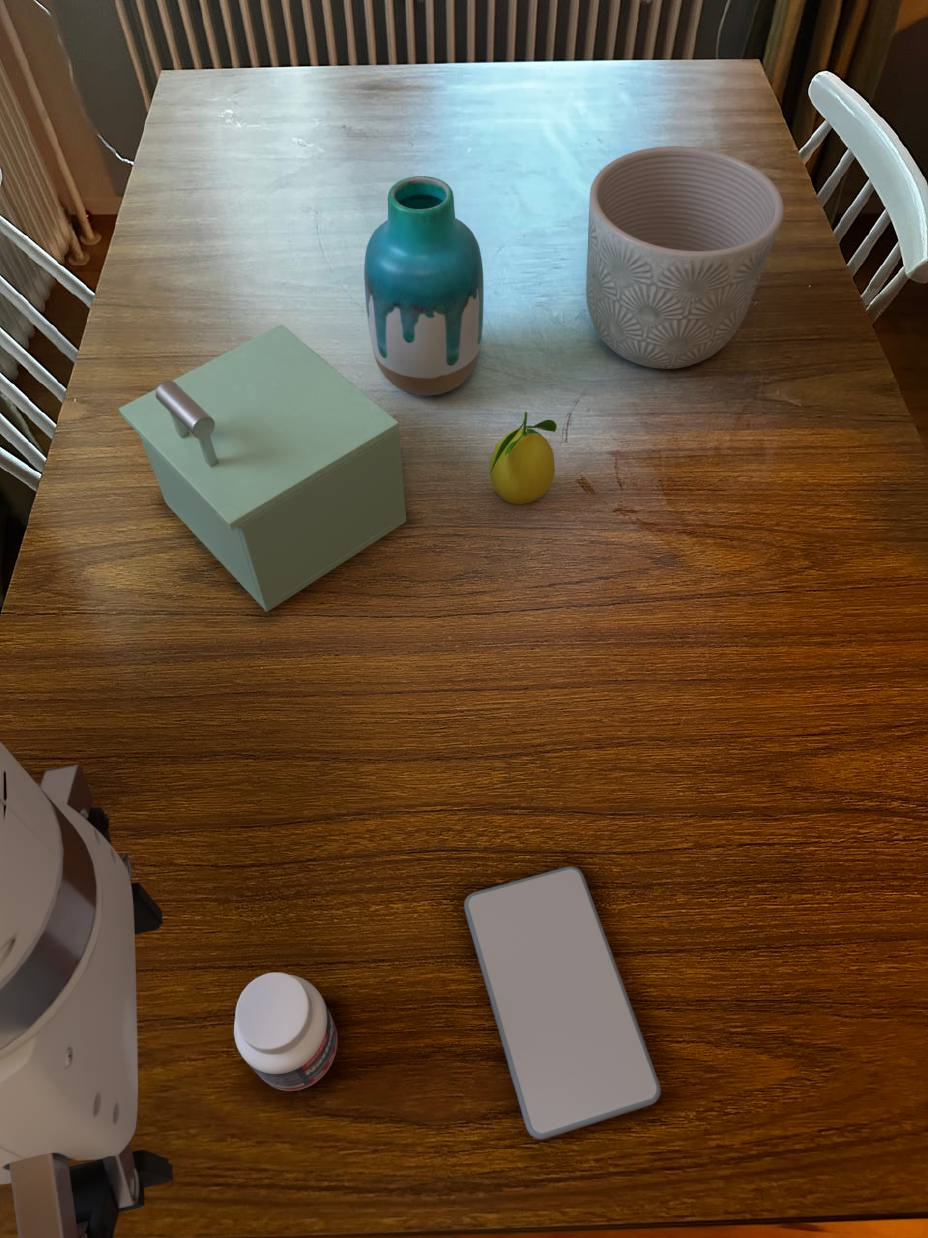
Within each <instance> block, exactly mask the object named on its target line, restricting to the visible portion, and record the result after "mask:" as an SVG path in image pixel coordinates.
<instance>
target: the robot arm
mask: <svg viewBox="0 0 928 1238" xmlns="http://www.w3.org/2000/svg"><path fill="white" fill-rule="evenodd" d="M93 801H94V797H93V795H92V792H91V789H90V785H89V783H88V780H87V778H86V775H85V772H84V770H83V767H82V766H81V764H79V763H78V764H73V765H68V766H61V767H57V768H53V769H47V770H45V771H44V774H43V777H42V780H41V782H40V785H39V784H37V782H35V780H34V779H33V777H31V775H30V774H29V773H28V772H27V770H26V769H25V768H24V767H23V766H22V765H21V764H20V763H19V761H18V760H17V759H16V758H15V757H14V755H13V754H11V752H10V751H9V750H8V749H7V747H6V746H4V744H3V743H2V742H1V741H0V1185H8V1184H11V1190H12V1197H13V1205H14V1212H15V1220H16V1227H17V1228H16V1229H17V1236H18V1238H114V1235H115V1234H114V1233H115V1230H116V1226H117V1222H118V1218H119V1214H121V1213H125V1212H128V1211H132V1210H136V1209H140V1208H143V1207H145V1205H146V1204H145V1188H150V1187H154V1186H158V1185H162V1184H165V1183H169V1182H172V1181H173V1180H174V1168H173V1164H172V1163H170V1162H169V1158H166V1157H164V1156H161V1155H160V1154H157V1153H154V1152H151V1151H149V1150H147V1149H139V1150H138V1149H137V1150H134V1151H132V1147H131V1145H130V1141H131V1140H132V1138H133V1136H134V1135H135V1133H136V1128H137V1121H138V1109H139V1108H138V1107H139V1063H138V1060H139V1056H138V1006H137V1003H138V1002H137V969H136V968H137V967H136V966H137V965H136V964H137V963H136V962H137V961H136V940H135V939H136V937H135V936H136V935H140V934H144V933H149V932H153V931H158V930H159V929H160V928H161V927H160V926H162V925H163V923H164V921H163V918H164V917H163V910H162V909H161V907H160V906H159V905H158V903H156V901H155V900H154V899H153V898H152V897H151V895H150V894H149V893H148V892H147V890H146V889H145V888H144V886H143V885H142V884H141V883H140V882H139V881H137V882H132V880H133V869H132V867H133V866H132V862H131V859H130V856H129V854H128V853H122V854H118V852H117V851H116V849H115V848H114V847H113V844H112V841H111V835H110V831H109V829H110V824H111V823H110V818H109V816H108V813H105V811H104V809H103V808H102V807H101V806H97V807H93ZM72 1160H74V1161H76V1162H77V1161H78V1162H79V1161H87V1162H84V1163H79V1164H75V1165H72V1166H69V1161H72Z"/></svg>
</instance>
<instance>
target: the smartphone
mask: <svg viewBox="0 0 928 1238" xmlns="http://www.w3.org/2000/svg"><path fill="white" fill-rule="evenodd" d="M463 908H464V909H463V910H464V913H465V918H466V921H467V924H468V928H469V931H470V934H471V938H472V942H473V945H474V949H475V952H476V955H477V960H478V963H479V966H480V969H481V974H482V976H483V980H484V984H485V988H486V991H487V995H488V997H489V998H488V999H489V1002H490V1005H491V1009H492V1012H493V1015H494V1020H495V1022H496V1023H495V1024H496V1027H497V1029H498V1033H499V1036H500V1037H499V1038H500V1040H501V1044H502V1048H503V1051H504V1056H505V1058H506V1061H507V1065H508V1070H509V1073H510V1078H511V1080H512V1084H513V1086H514V1090H515V1093H516V1097H517V1100H518V1104H519V1108H520V1111H521V1115H522V1118H523V1123H524V1126H525V1128H526V1131H527V1132H528V1134H529V1135H530V1136H531V1137H533V1138H534V1139H536V1140H541V1141H542V1140H547V1139H550V1138H553V1137H557V1136H560V1135H562V1134H566V1133H569V1132H572V1131H574V1130H578V1129H582V1128H584V1127H588V1126H590V1125H593V1124H596V1123H600V1122H603V1121H606V1120H609V1119H612V1118H615V1117H618V1116H621V1115H625V1114H628V1113H631V1112H634V1111H637V1110H640V1109H644V1108H646V1107H650V1106H652V1105H654V1104H656V1102H657V1101H658V1100H659V1098H660V1096H661V1084H660V1081H659V1079H658V1076H657V1072H656V1071H655V1068H654V1065H653V1062H652V1061H653V1060H652V1059H651V1056H650V1054H649V1051H648V1048H647V1045H646V1042H645V1039H644V1037H643V1033H642V1031H641V1028H640V1026H639V1023H638V1021H637V1017H636V1015H635V1012H634V1010H633V1007H632V1004H631V1001H630V999H629V996H628V993H627V991H626V988H625V985H624V982H623V980H622V978H621V977H622V976H621V974H620V972H619V969H618V967H617V964H616V961H615V958H614V956H613V955H614V954H613V952H612V949H611V948H610V944H609V941H608V939H607V936H606V934H605V933H606V932H605V931H604V928H603V925H602V922H601V919H600V917H599V914H598V912H597V909H596V906H595V903H594V900H593V898H592V894H591V892H590V889H589V887H588V884H587V881H586V879H585V876H584V873H583V872H582V871H581V870H580V869H579V868H578V867H575V866H570V865H569V866H565V867H561V868H557V869H554V870H550V871H547V872H542V873H540V874H536V875H533V876H529V877H525V878H522V879H518V880H514V881H511V882H508V883H503V884H499V885H496V886H492V887H489V888H485V889H482V890H478V891H474V892H472V893H470V894H469V895H467V897H466V898H465V900H464V903H463Z"/></svg>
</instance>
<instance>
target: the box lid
mask: <svg viewBox="0 0 928 1238" xmlns="http://www.w3.org/2000/svg"><path fill="white" fill-rule="evenodd" d="M118 411H119V414H120V416H121V417H122V418H123V419H124V420H125V421H126V422H127V423H128V424H129V425H130V426H131V428H133V430H134V431H135V432H136V433H137V434H138V435H139V437H140V436H141V437H142V438H143V439H144V440H145V441H146V442H147V443H148V444H149V445H150V446H151V447H152V448H153V449H154V450H155V451H156V452H157V453H158V454H159V456H160V457H161V458H162V459H163V460H164V461H165V462H166V463H167V464H168V465H169V466H170V467H171V468H172V469H173V470H174V471H175V472H176V473H177V474H178V475H179V476H180V477H181V478H182V479H183V481H184V482H185V483H186V484H187V485H188V486H189V487H190V488H191V489H192V490H193V491H194V492H195V493H196V494H197V495H198V496H199V497H200V498H201V499H202V500H203V501H204V502H205V503H206V505H207V506H208V507H209V508H210V509H211V510H212V511H213V512H214V513H215V514H216V515H217V516H218V517H219V518H220V519H221V520H222V521H223V522H224V523H225V524H226V525H227V526H228V527H229V528H230V530H233V529H235V528H237V527H238V526H240V525H242V524H243V523H245V522H247V521H248V520H250V519H252V518H253V517H255V516H257V515H258V514H260V513H262V512H263V511H265V510H267V509H268V508H270V507H272V506H273V505H275V504H277V503H278V502H280V501H282V500H283V499H285V498H287V497H288V496H290V495H292V494H293V493H295V492H297V491H298V490H300V489H302V488H303V487H305V486H307V485H308V484H310V483H311V482H313V481H315V480H316V479H318V478H320V477H321V476H323V475H325V474H326V473H328V472H330V471H331V470H333V469H335V468H336V467H338V466H340V465H341V464H343V463H345V462H346V461H348V460H350V459H351V458H353V457H355V456H356V455H358V454H360V453H361V452H363V451H365V450H366V449H368V448H370V447H371V446H373V445H375V444H376V443H378V442H380V441H381V440H383V439H385V438H386V437H388V436H390V435H391V434H393V433H395V432H396V431H398V430H399V431H400V422H399V421H398V420H396V419H395V418H394V417H393V416H392V415H391V414H389V413H388V411H385V409H383V408H382V407H381V406H380V405H379V404H378V403H376V402H375V401H374V400H373V399H372V398H370V396H368V395H366V394H365V392H363V391H362V390H360V389H359V388H358V387H357V385H355V384H353V383H352V382H351V381H350V380H349V379H348V378H346V377H345V376H344V375H343V374H342V373H341V372H339V371H338V370H337V369H335V367H334V366H332V365H331V364H330V363H329V362H328V361H326V360H325V359H324V358H323V357H321V356H320V355H319V354H318V353H317V352H316V351H314V350H313V349H312V348H311V347H310V346H308V345H307V344H306V343H305V342H304V341H303V340H301V339H300V338H299V337H298V336H296V335H295V334H294V333H293V332H292V331H291V330H290V329H288V328H287V327H286V326H285V325H283V324H282V323H281V324H278V325H277V326H275V327H273V328H271V329H269V330H267V331H265V332H263V333H261V334H260V335H258V336H255V337H254V338H252V339H250V340H248V341H246V342H244V343H242V344H240V345H238V346H236V347H234V348H232V349H231V350H229V351H227V352H225V353H223V354H221V355H219V356H217V357H215V358H213V359H211V360H209V361H207V362H205V363H204V364H202V365H200V366H197V367H196V368H194V369H192V370H189V371H187V372H186V373H184V374H183V375H180V376H178V377H176V378H174V379H173V380H165V381H163V382H162V383H160V384H159V385H158V386H157V388H155V389H153V390H151V391H150V392H147V393H145V394H143V395H142V396H139V397H137V398H136V399H134V400H132V401H130V402H128V403H126V404H124V405H122V406H121V407H118Z"/></svg>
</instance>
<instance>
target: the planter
mask: <svg viewBox="0 0 928 1238" xmlns="http://www.w3.org/2000/svg"><path fill="white" fill-rule="evenodd" d="M588 202H589V203H588V227H587V251H586V252H587V254H586V279H585V288H586V289H585V292H586V293H585V294H586V304H587V308H588V313H589V317H590V320H591V322H592V325H593V327H594V329H595V331H596V333H597V335H598V336H599V337H600V339H601V340H602V342H603V343H604V344H605V345H606V346H607V347H609V349H611V351H612V352H614V353H616V355H618V356H620V357H621V358H622V359H625V360H627V361H629V362H631V363H633V364H636V365H639V366H642V367H647V368H653V369H661V370H663V369H664V370H668V369H680V368H686V367H689V366H692V365H695V364H698V363H700V362H703V361H705V360H707V359H708V358H710V357H712V356H713V355H715V354H716V353H718V352H719V351H721V350H722V348H723V347H725V346H726V345H727V344H728V343H729V341H730V340H731V339H732V338H733V337H734V335H735V333H736V332H737V331H738V330H739V328H740V327H741V325H742V323H743V321H744V319H745V318H746V315H747V313H748V311H749V308H750V305H751V304H752V303H751V302H752V300H753V297H754V294H755V292H756V290H757V287H758V284H759V281H760V280H761V277H762V274H763V271H764V269H765V266H766V263H767V261H768V258H769V256H770V253H771V250H772V248H773V245H774V243H775V240H776V238H777V235H778V233H779V229H780V227H781V224H782V222H783V219H784V212H785V206H784V205H785V204H784V201H783V198H782V195H781V193H780V191H779V190H778V188H777V186H776V184H775V183H774V182H773V181H772V180H771V179H770V178H769V177H768V176H767V175H766V174H764V173H763V172H762V171H760V169H758V168H757V167H755V166H753V165H752V164H750V163H748V162H746V161H744V160H742V159H740V158H737V157H735V156H732V155H730V154H726V153H723V152H720V151H716V150H712V149H708V148H707V149H706V148H702V147H701V148H700V147H694V146H678V145H676V146H675V145H674V146H673V145H672V146H671V145H670V146H656V147H649V148H644V149H640V150H635V151H633V152H630V153H628V154H624V155H622V156H620V157H617V158H615V159H614V160H612V161H610V162H609V163H608V164H607V165H605V166H604V167H603V168H602V169H601V170H600V171H599V172H598V173H597V175H595V177H594V179H593V181H592V183H591V185H590V190H589V198H588Z"/></svg>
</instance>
